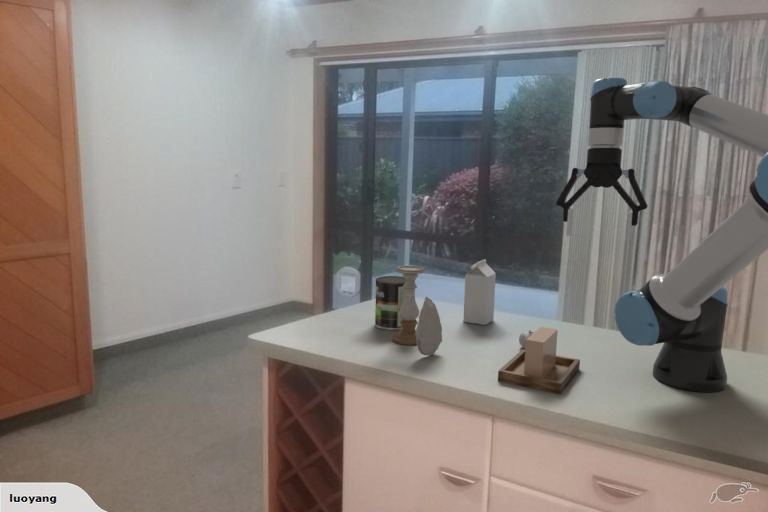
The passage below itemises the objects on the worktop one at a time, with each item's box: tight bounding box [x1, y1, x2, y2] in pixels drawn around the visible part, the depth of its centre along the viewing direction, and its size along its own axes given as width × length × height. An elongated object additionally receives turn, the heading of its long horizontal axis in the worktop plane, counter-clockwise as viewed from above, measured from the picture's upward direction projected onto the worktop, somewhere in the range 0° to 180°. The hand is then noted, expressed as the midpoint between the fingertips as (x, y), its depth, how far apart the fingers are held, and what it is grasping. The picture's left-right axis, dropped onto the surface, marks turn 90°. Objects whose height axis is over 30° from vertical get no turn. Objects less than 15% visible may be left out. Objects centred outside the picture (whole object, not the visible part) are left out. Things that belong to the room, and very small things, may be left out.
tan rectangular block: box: [524, 326, 559, 378], centre depth 134 cm, size 4×12×9 cm, turn 149°
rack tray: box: [497, 348, 581, 395], centre depth 135 cm, size 14×18×2 cm
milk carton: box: [463, 258, 497, 326], centre depth 178 cm, size 7×7×19 cm
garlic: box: [518, 329, 535, 349], centre depth 154 cm, size 6×5×5 cm
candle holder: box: [392, 265, 425, 346], centre depth 157 cm, size 9×9×20 cm
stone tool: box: [415, 296, 443, 356], centre depth 146 cm, size 9×3×15 cm, turn 140°
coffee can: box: [374, 275, 405, 331], centre depth 172 cm, size 10×10×14 cm
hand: (598, 237), depth 139 cm, fingers open, 13 cm apart
